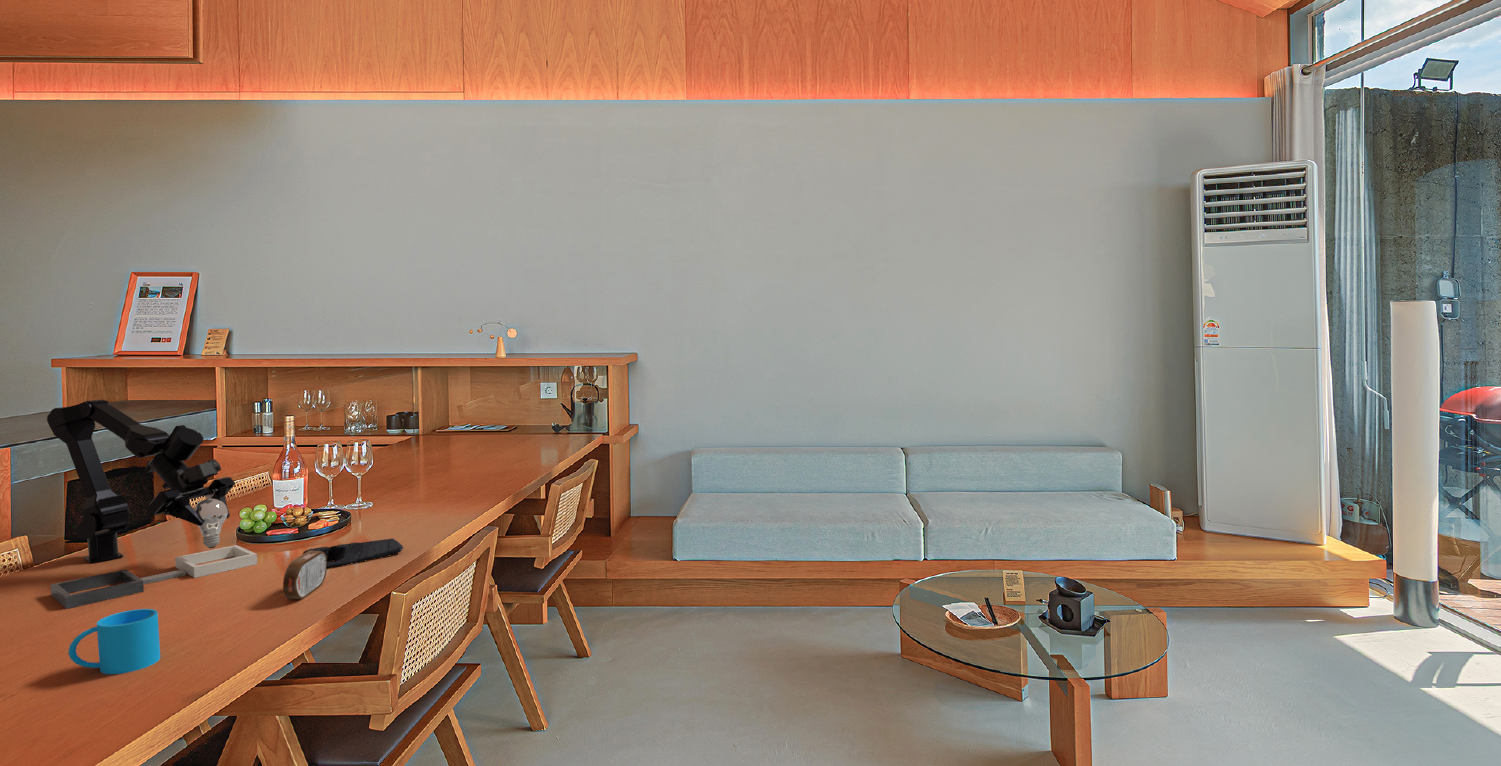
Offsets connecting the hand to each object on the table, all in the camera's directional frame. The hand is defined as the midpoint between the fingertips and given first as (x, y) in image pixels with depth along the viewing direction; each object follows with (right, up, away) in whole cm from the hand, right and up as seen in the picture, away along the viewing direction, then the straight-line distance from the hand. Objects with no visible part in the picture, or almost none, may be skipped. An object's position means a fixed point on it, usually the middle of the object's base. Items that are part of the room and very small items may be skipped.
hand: (215, 520), depth 187 cm
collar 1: (-14, -13, -17) cm, 25 cm away
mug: (+20, -16, -54) cm, 59 cm away
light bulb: (-1, -7, +1) cm, 7 cm away
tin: (+32, -13, -18) cm, 39 cm away
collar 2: (-1, -11, +2) cm, 11 cm away
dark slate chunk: (+29, -11, +9) cm, 32 cm away
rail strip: (-7, -12, -8) cm, 16 cm away
